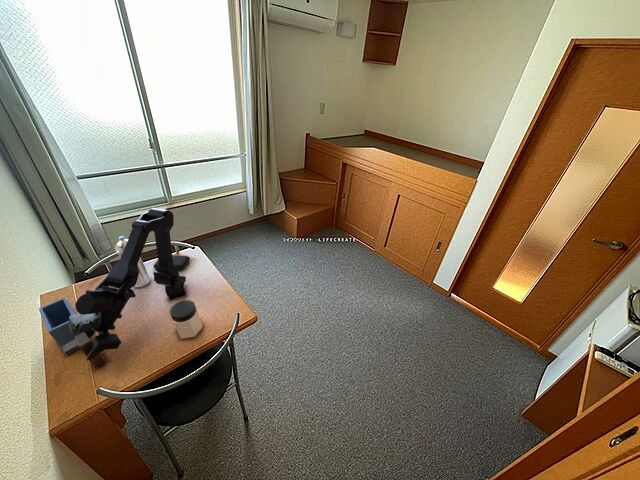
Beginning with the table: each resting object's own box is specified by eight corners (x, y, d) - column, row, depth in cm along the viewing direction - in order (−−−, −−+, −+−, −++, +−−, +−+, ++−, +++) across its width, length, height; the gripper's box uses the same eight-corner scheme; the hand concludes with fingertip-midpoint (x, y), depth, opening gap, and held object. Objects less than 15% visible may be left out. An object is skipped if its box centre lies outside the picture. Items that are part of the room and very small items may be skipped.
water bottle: (146, 275, 119) (126, 230, 105) (153, 282, 116) (134, 236, 102) (130, 283, 114) (107, 237, 100) (137, 290, 111) (115, 244, 97)
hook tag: (100, 353, 87) (84, 331, 80) (106, 362, 84) (89, 341, 78) (79, 365, 83) (60, 344, 76) (84, 375, 81) (65, 354, 74)
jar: (174, 340, 93) (165, 319, 86) (179, 322, 99) (171, 301, 92) (201, 336, 94) (194, 315, 88) (204, 319, 101) (197, 298, 94)
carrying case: (151, 272, 121) (183, 273, 122) (149, 267, 119) (181, 268, 120) (162, 258, 129) (191, 259, 130) (160, 253, 128) (190, 254, 129)
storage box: (81, 319, 97) (65, 296, 90) (93, 340, 90) (76, 318, 84) (57, 330, 93) (38, 308, 86) (67, 354, 86) (48, 332, 79)
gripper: (71, 291, 79) (43, 335, 78) (91, 324, 70) (59, 376, 69) (111, 295, 89) (86, 334, 87) (133, 325, 79) (106, 369, 78)
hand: (84, 352), depth 80 cm, fingers open, 7 cm apart
